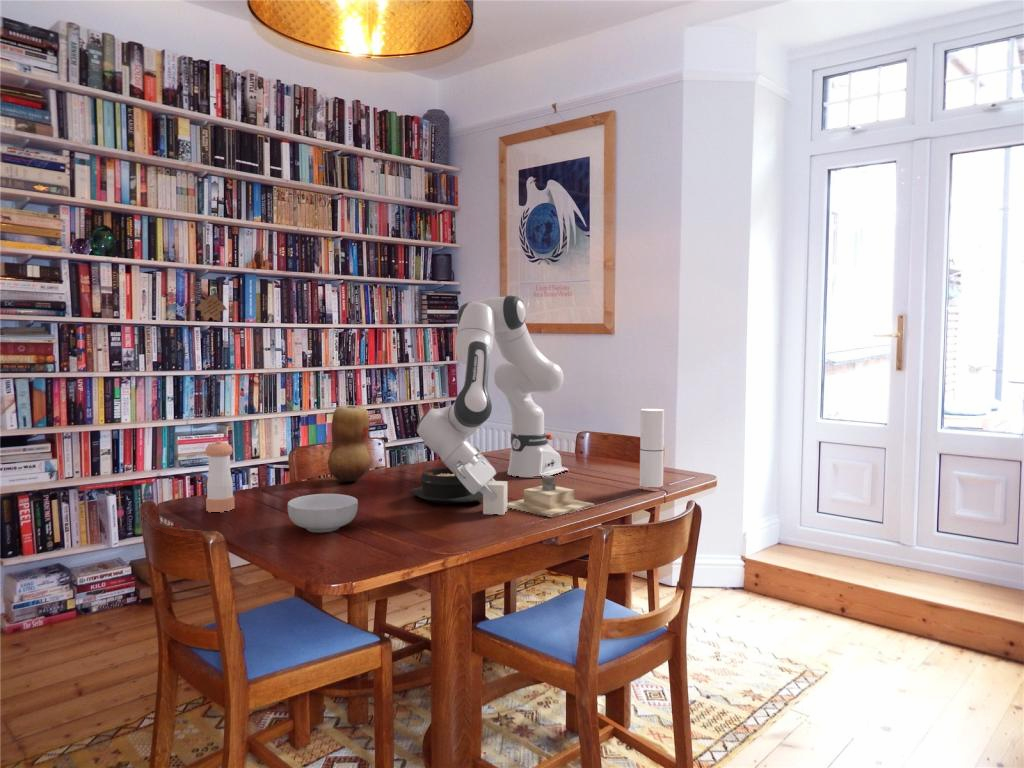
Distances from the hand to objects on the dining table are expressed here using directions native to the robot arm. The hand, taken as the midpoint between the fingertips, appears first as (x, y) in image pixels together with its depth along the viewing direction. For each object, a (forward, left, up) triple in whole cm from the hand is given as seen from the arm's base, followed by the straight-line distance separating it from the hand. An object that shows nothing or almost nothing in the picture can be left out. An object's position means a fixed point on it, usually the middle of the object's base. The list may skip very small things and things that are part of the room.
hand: (497, 496), depth 202 cm
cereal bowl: (+42, -19, -5) cm, 47 cm away
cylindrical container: (-56, +11, -5) cm, 57 cm away
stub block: (-15, +5, -4) cm, 16 cm away
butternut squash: (+6, -64, -5) cm, 65 cm away
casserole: (-1, -22, -5) cm, 22 cm away
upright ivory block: (0, -1, -4) cm, 4 cm away
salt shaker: (+52, -56, -5) cm, 76 cm away
